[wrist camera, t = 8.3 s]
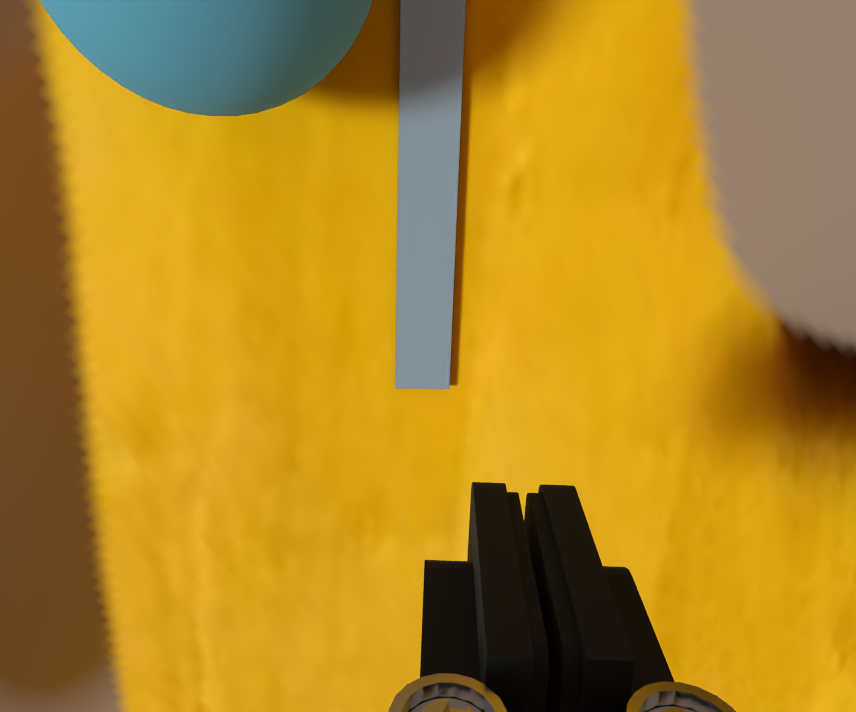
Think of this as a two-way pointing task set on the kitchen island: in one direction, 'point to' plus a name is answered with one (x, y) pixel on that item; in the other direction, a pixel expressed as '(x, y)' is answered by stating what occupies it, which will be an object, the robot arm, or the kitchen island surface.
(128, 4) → the ball
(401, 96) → the strip
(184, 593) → the kitchen island surface
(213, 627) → the kitchen island surface
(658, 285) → the kitchen island surface
